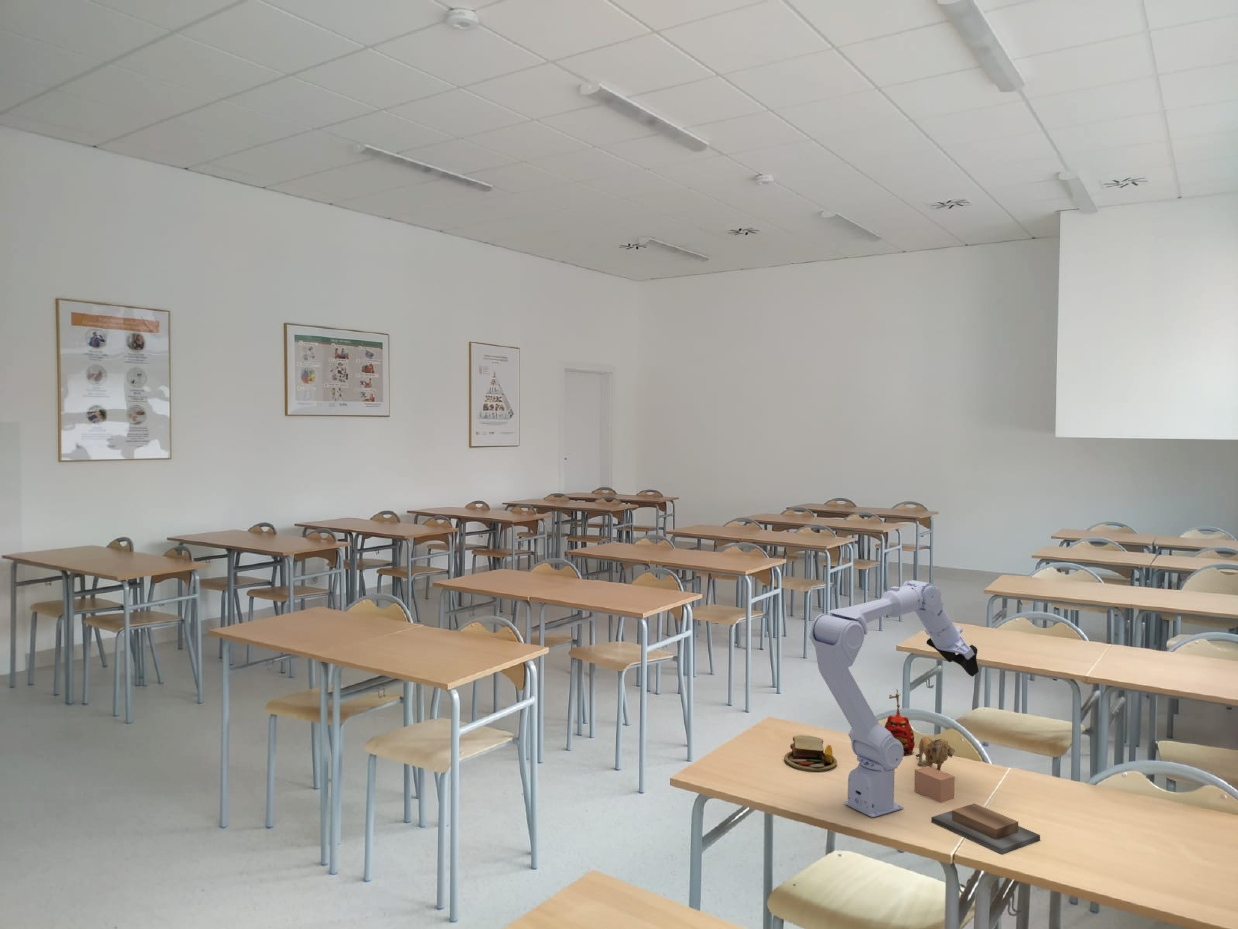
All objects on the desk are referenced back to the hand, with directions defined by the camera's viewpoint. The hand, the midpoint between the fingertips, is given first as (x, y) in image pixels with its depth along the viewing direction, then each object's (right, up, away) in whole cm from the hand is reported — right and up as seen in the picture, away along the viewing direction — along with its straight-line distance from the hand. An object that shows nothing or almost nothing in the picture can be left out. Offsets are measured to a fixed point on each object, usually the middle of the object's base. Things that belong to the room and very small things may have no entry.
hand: (963, 666), depth 194 cm
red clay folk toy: (-8, -27, +21) cm, 35 cm away
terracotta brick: (-9, -27, -6) cm, 29 cm away
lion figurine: (-4, -27, +9) cm, 29 cm away
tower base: (-5, -27, -24) cm, 37 cm away
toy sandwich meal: (-32, -27, +13) cm, 44 cm away
